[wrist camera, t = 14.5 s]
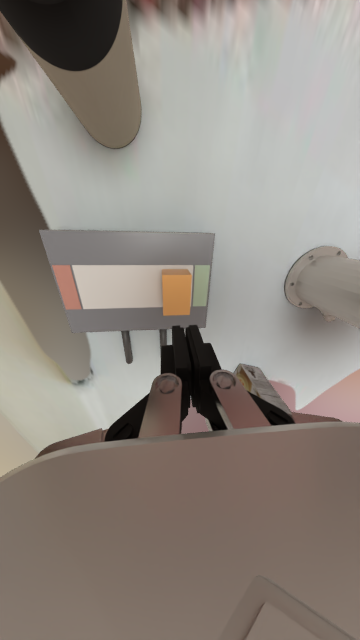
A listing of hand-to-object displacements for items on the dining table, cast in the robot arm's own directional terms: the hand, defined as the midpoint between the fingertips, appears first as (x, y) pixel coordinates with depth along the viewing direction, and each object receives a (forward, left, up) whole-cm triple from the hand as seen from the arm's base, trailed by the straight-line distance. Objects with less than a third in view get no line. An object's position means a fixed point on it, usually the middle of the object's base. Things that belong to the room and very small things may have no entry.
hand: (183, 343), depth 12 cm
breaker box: (-2, +9, -23) cm, 25 cm away
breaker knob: (-2, 0, -18) cm, 18 cm away
